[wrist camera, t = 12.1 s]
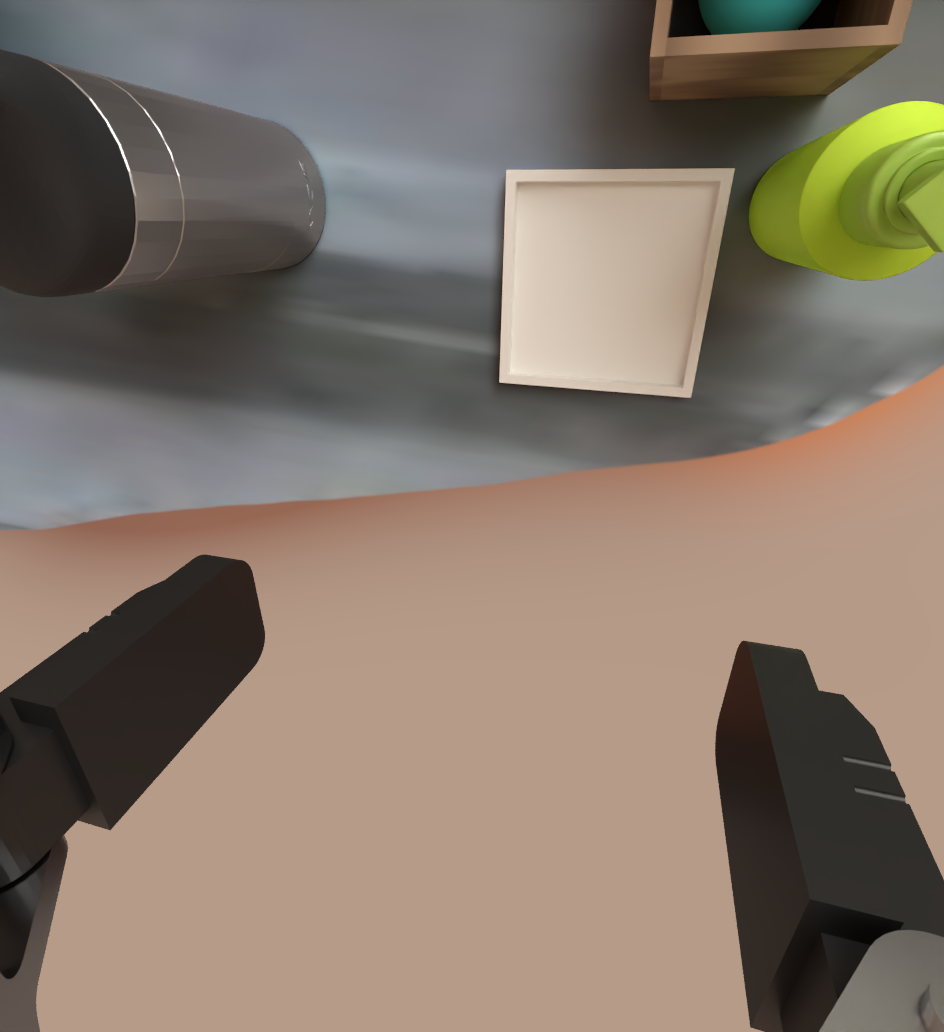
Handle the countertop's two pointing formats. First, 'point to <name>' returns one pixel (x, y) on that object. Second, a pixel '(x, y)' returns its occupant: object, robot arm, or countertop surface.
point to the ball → (755, 15)
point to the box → (773, 55)
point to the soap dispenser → (858, 196)
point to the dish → (609, 276)
